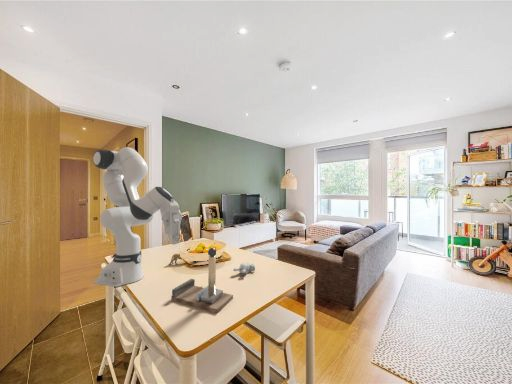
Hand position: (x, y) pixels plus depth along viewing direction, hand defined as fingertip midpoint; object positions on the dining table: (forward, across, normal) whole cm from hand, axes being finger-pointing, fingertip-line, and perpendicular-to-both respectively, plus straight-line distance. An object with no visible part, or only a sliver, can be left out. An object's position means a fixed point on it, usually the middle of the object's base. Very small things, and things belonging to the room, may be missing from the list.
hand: (177, 231), depth 86 cm
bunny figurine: (-1, +36, -38) cm, 52 cm away
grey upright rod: (+17, +25, -10) cm, 32 cm away
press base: (+14, +27, -8) cm, 32 cm away
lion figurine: (-32, +46, -8) cm, 57 cm away
